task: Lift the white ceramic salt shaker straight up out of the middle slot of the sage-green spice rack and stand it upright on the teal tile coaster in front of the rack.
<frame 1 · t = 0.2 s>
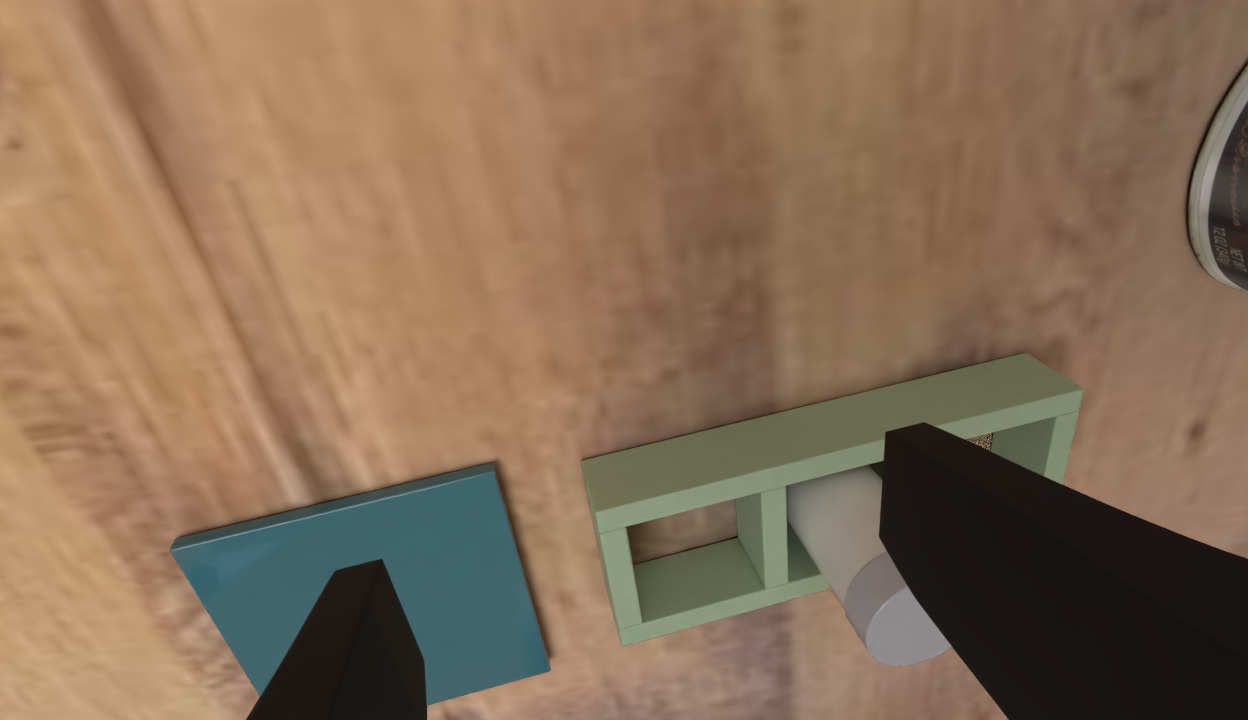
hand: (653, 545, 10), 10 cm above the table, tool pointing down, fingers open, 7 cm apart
spice rack: (812, 472, 24), on the table
coaster: (385, 606, 22), on the table
shaker: (861, 537, 21), in the spice rack
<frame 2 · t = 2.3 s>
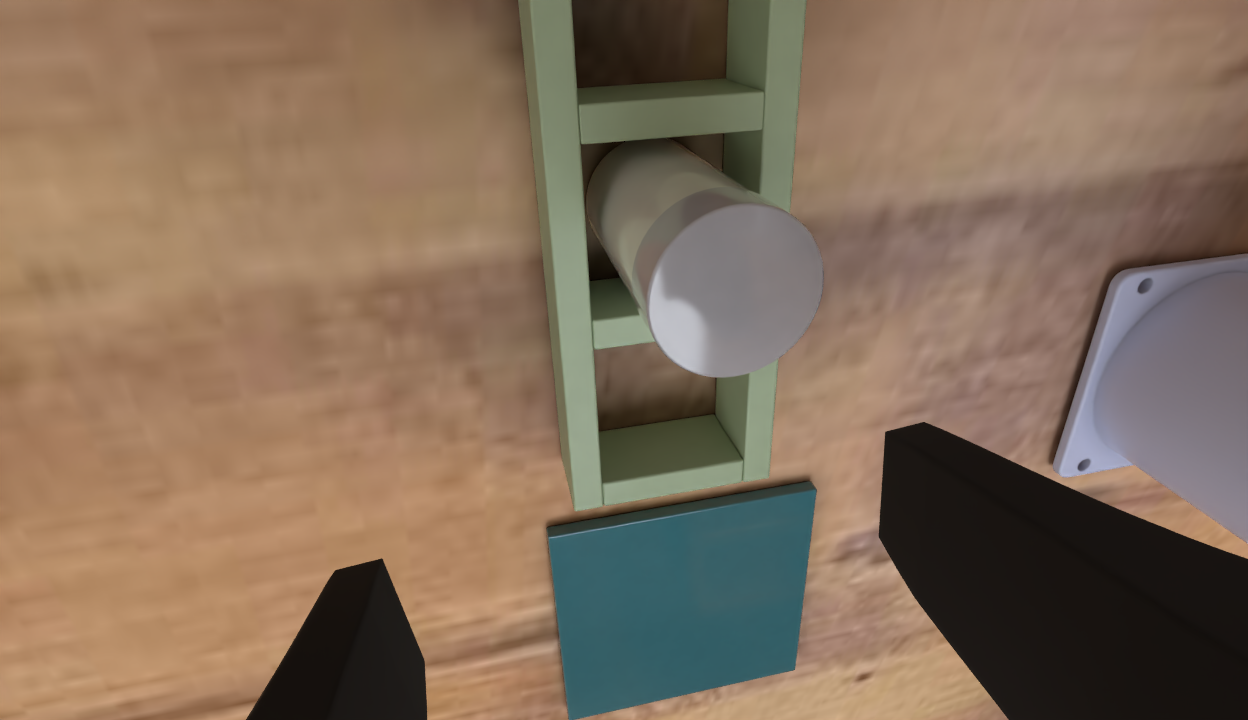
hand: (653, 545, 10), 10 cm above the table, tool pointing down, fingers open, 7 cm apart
spice rack: (647, 200, 18), on the table
coaster: (682, 601, 25), on the table
shaker: (684, 239, 15), in the spice rack
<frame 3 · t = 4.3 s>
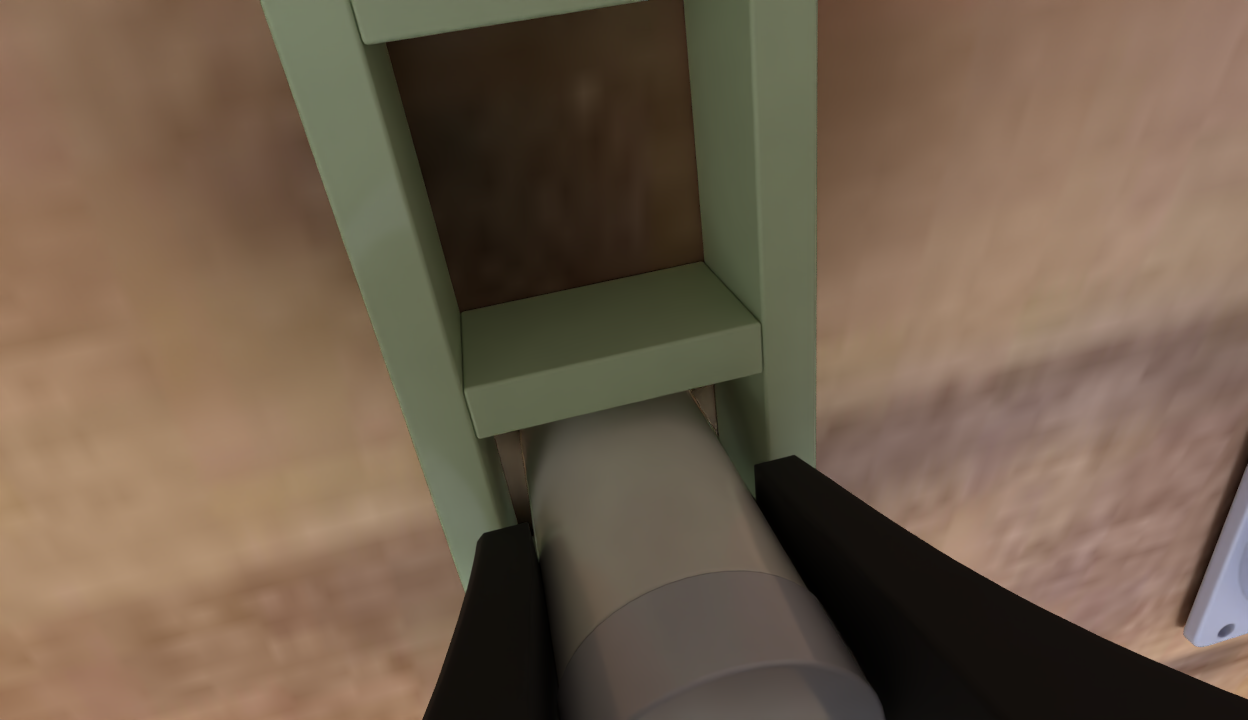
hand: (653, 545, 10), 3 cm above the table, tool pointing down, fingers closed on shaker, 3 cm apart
spice rack: (609, 427, 13), on the table
shaker: (654, 553, 10), in the spice rack, touching gripper
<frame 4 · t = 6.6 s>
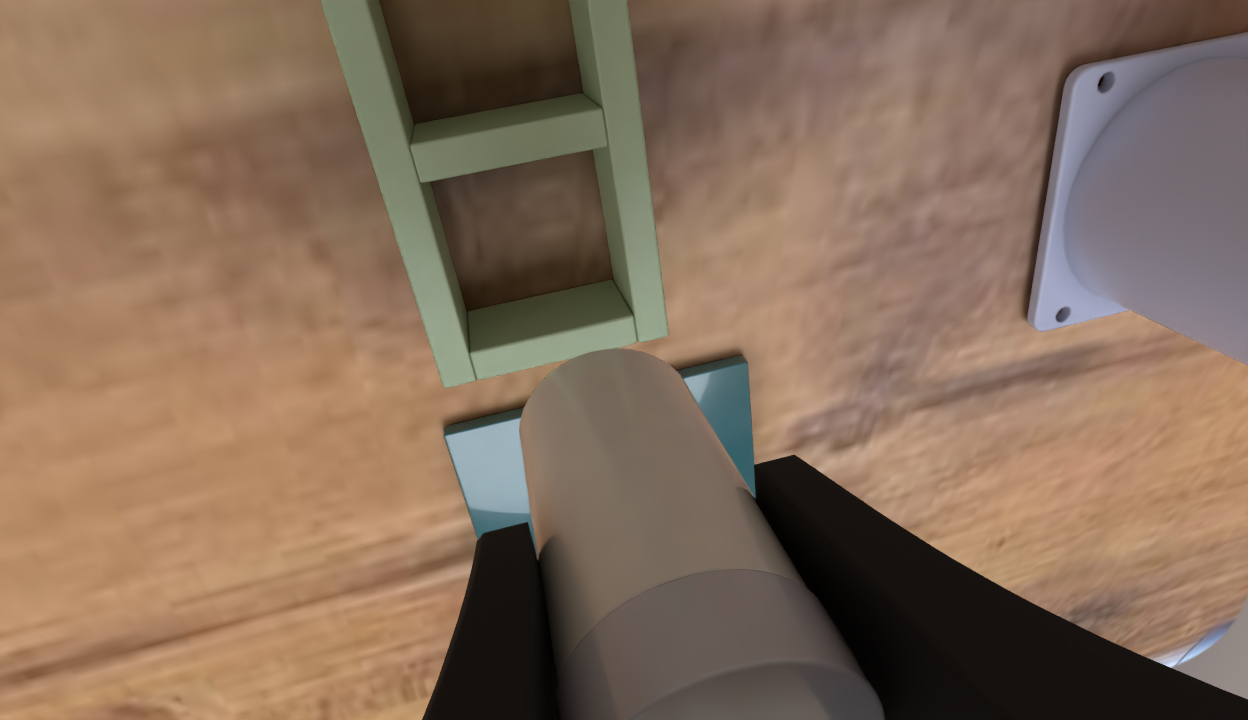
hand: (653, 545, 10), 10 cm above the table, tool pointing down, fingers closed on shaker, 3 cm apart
spice rack: (478, 13, 15), on the table
coaster: (619, 505, 23), on the table
shaker: (653, 552, 10), point 10 cm above the table, touching gripper
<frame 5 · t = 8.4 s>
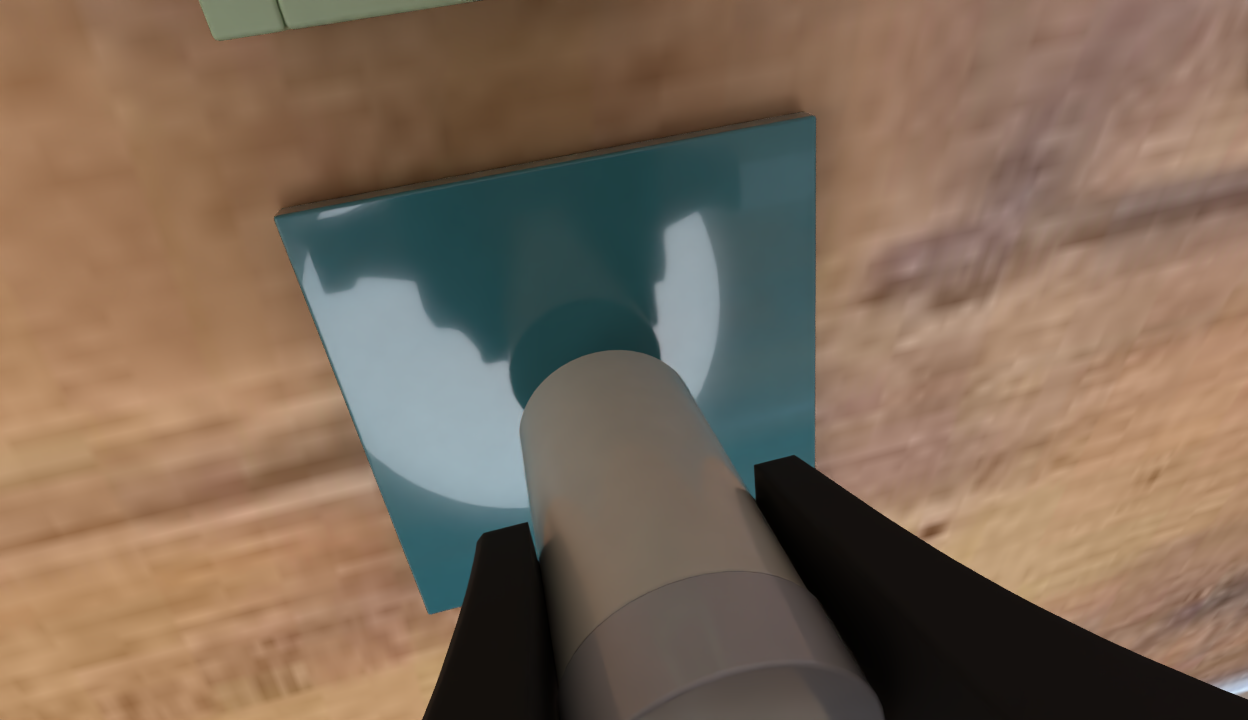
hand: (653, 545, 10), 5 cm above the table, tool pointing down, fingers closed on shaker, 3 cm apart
coaster: (594, 383, 14), on the table
shaker: (653, 553, 10), point 5 cm above the table, touching gripper
when the fingers open (4 cm above the table, at t = 9.1 s): shaker stays where it is, resting on coaster.
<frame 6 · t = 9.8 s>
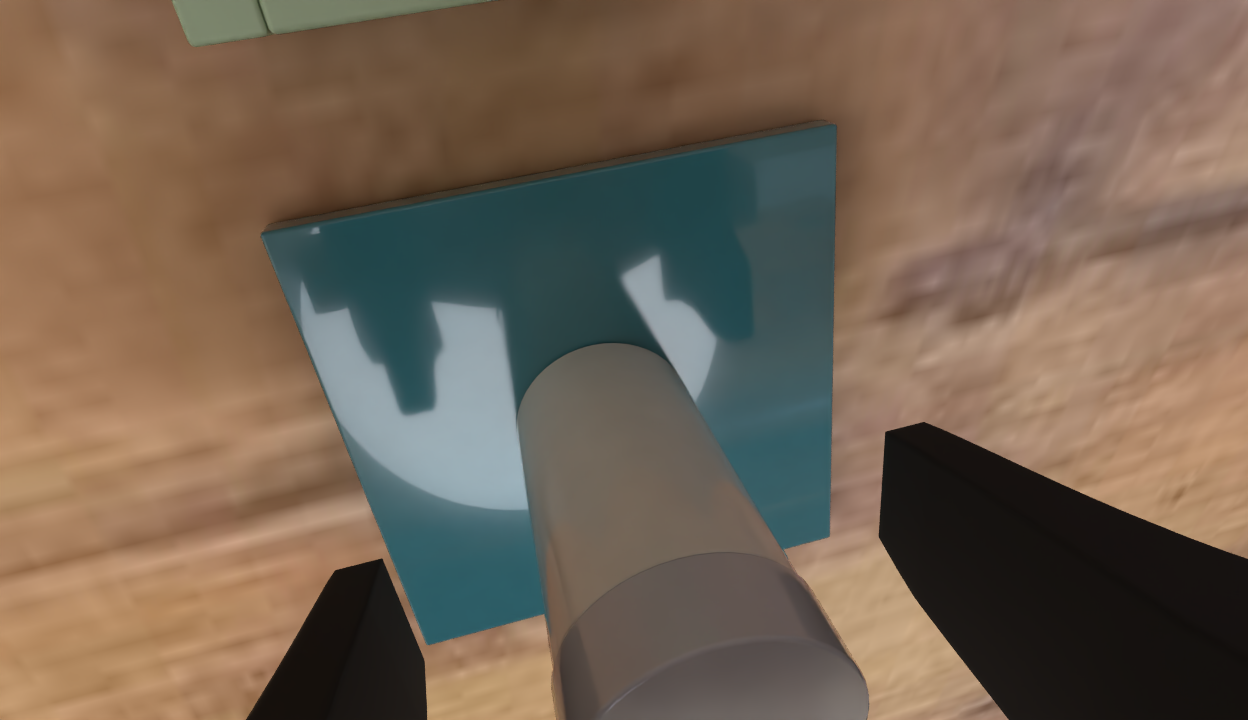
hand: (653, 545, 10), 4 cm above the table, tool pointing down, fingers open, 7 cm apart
coaster: (601, 404, 13), on the table
shaker: (647, 539, 10), on the coaster
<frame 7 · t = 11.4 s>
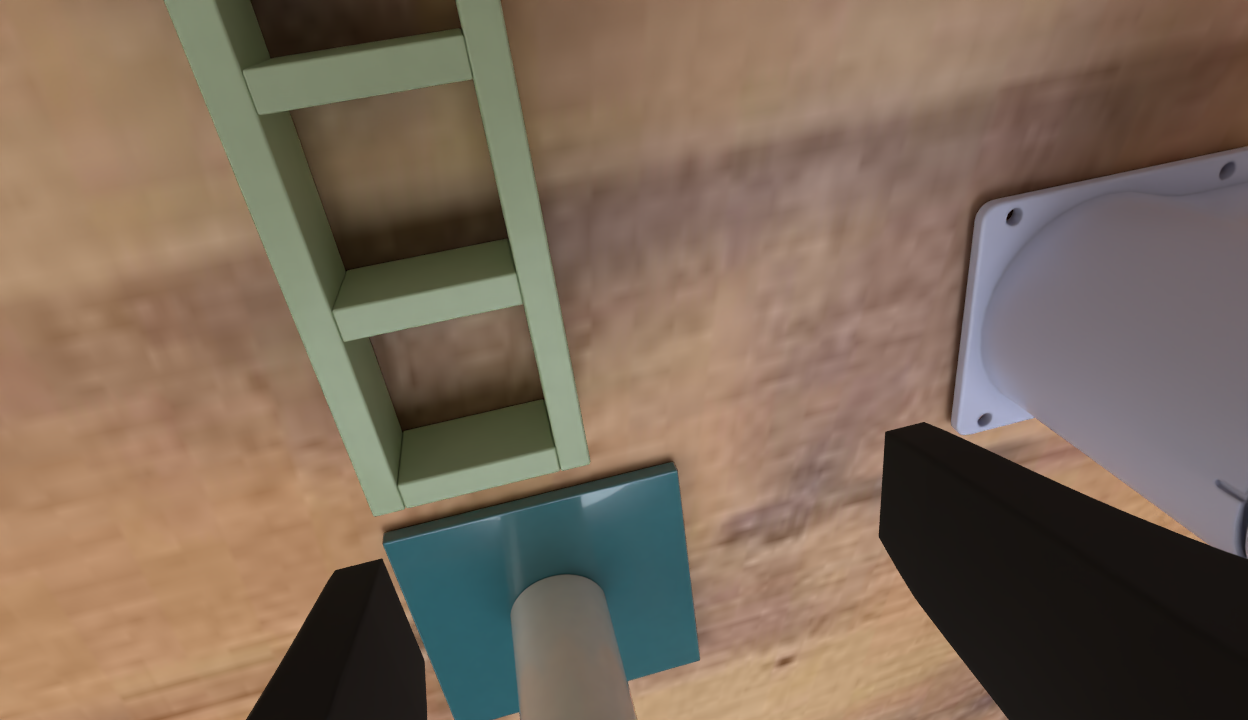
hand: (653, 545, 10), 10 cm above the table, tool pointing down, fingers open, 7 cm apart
spice rack: (405, 172, 16), on the table
coaster: (558, 598, 24), on the table
shaker: (574, 695, 20), on the coaster
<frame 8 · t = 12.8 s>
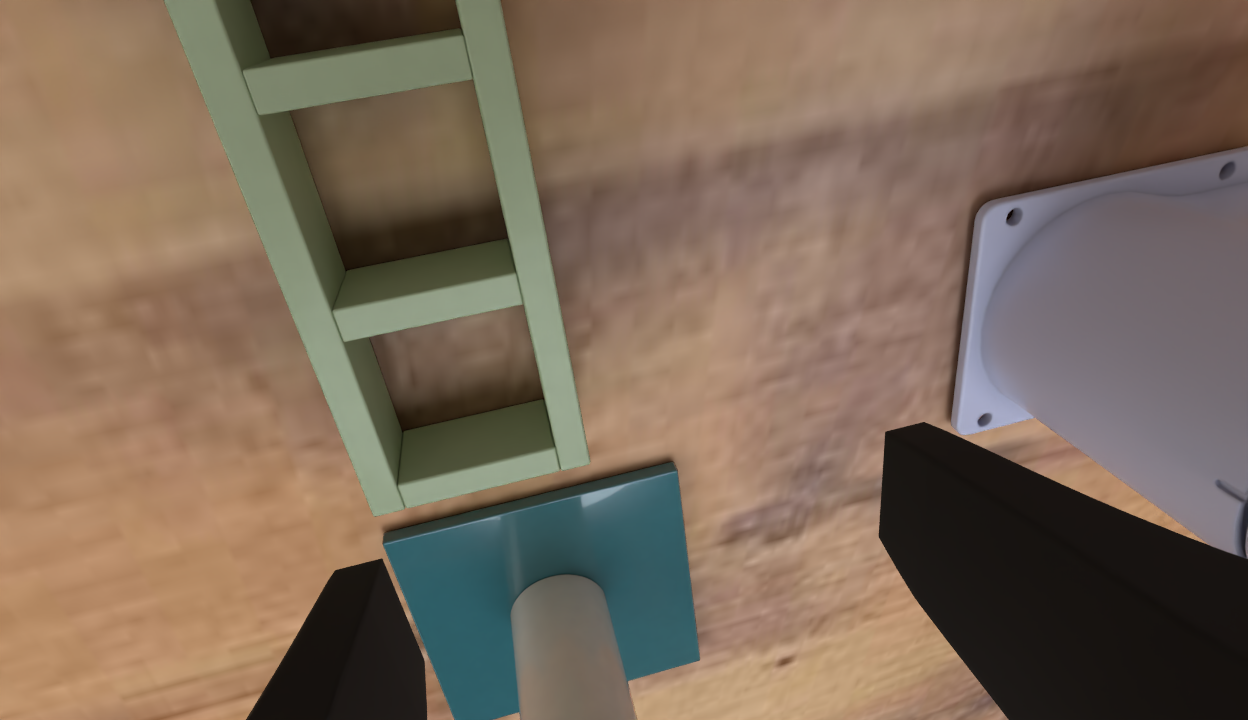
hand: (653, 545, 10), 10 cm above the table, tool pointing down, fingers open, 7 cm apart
spice rack: (405, 173, 16), on the table
coaster: (558, 598, 24), on the table
shaker: (574, 695, 20), on the coaster
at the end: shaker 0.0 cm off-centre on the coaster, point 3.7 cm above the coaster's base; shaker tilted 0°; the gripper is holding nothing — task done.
